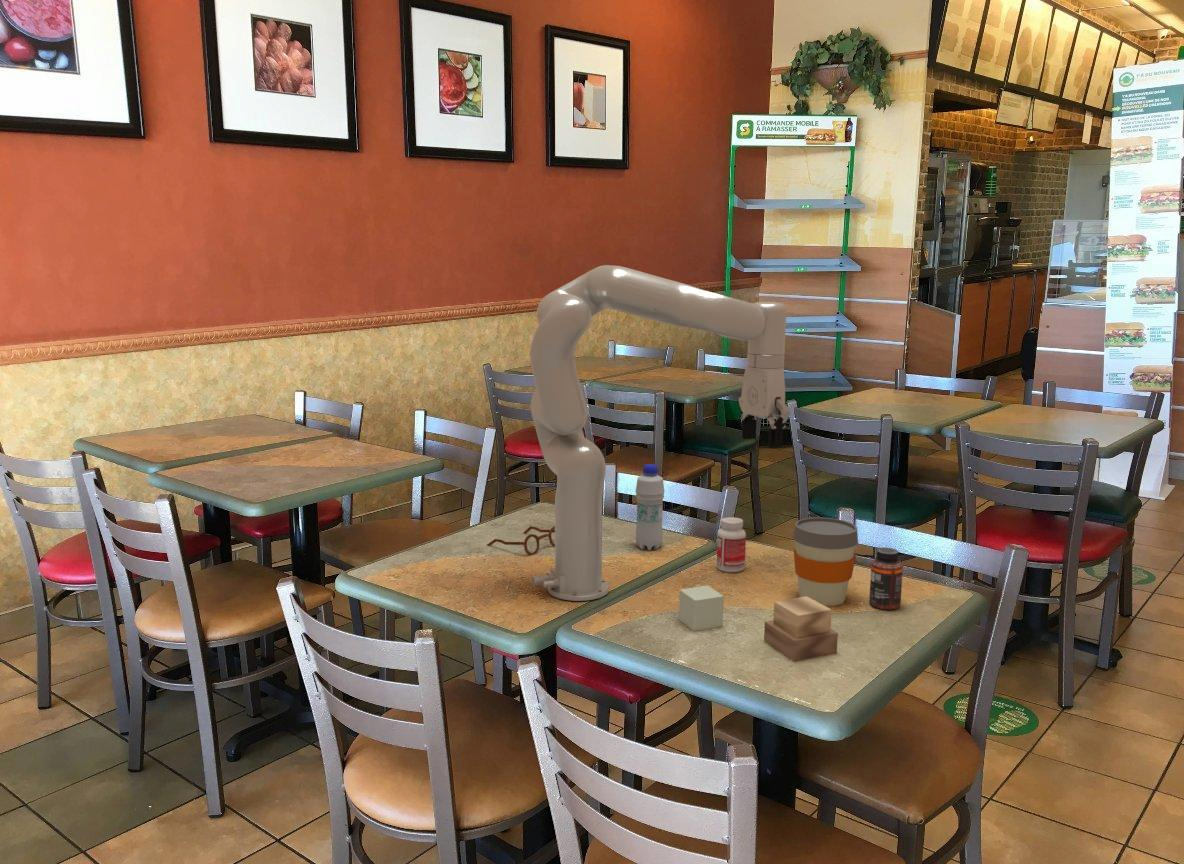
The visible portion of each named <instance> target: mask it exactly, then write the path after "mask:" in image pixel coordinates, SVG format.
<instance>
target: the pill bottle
mask: <svg viewBox="0 0 1184 864" xmlns="http://www.w3.org/2000/svg"><path fill="white" fill-rule="evenodd" d="M720 521H721V522H720V526H721V528H719V529H718V531H717V533H716V535H717V537H716V568H717V569H718V570H719V571H722V572H724V573H739V572H742V571H744V570H745V567H746V549H747V547H746V544H747V542H746V541H747V539H746V538H747V533H746V531H745V530H744V529H743V526H744V520H743V519H742V518H739V517H731V516H729V517H723V518H721V520H720Z"/></svg>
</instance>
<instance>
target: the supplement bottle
mask: <svg viewBox="0 0 1184 864" xmlns="http://www.w3.org/2000/svg"><path fill="white" fill-rule="evenodd" d="M898 558H899V550H898V549H896V548H892V547H879V548H877V550H876V557H875V558H874V559H873V560H872V561H871V564H870V582H869V583H870V584H869V597H868V598H869V599H868V600H869V604H870V605H871V606H872V607H874V608H877V609H880V610H887V611H888V610H895V609H899V608H900V606H901V602H902V589H903V588H902V587H903V586H902V585H903V570H904V569H903V568H904V565H903V563H902V561H900V560H899V559H898Z"/></svg>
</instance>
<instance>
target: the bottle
mask: <svg viewBox="0 0 1184 864" xmlns="http://www.w3.org/2000/svg"><path fill="white" fill-rule="evenodd" d="M658 471H659V468H658V466H657V465H656V464H653V463H647V464H645V465H643V467H642V474H641V475H639V476H638V477H637V479H636V486H635V498H636V526H635V527H636V528H635V543H636V546H637V547H638V548H640V549H641V550H645V547H647V550H648V551H651V550H652V548H653V549H654V550H658V549H659V548H660V547H661V546H662V543H663V539H664V537H663V536H664V535H663V534H664V533H663V501H664V499H665V484H664V478H663V477H662V476H660V475H658V473H659V472H658Z"/></svg>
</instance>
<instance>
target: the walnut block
mask: <svg viewBox="0 0 1184 864" xmlns="http://www.w3.org/2000/svg"><path fill="white" fill-rule="evenodd" d="M773 620H774V619H773ZM773 620H766V621H764V633H763V641H764V643H766V644H768V645H769V646H771V648H773V649H775V650H777V651H778V652H779V653H781V654H782V655H784V656H786V657H787V658H788V659H789V660H790V661H793V662H796V661H801V660H806V659H811V658H815V657H816V658H817V657H822V656H826V655H827V656H828V655H832V654H837V651H838V640H839V639H838V637H839V632H837V631H836V630H833V629H832V628H831V629H830V632H825V633H820V634H814V635H809V636H804V637H799V638H797V637H795V636H793V635H792V634H790V633H789V632H787V631H785V630H784V629H782V628H780V627H779V626H777V625H775V624H774V623H773Z"/></svg>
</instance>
